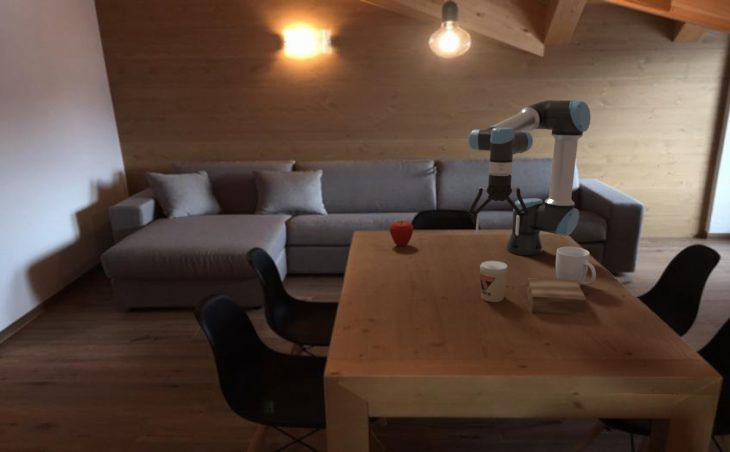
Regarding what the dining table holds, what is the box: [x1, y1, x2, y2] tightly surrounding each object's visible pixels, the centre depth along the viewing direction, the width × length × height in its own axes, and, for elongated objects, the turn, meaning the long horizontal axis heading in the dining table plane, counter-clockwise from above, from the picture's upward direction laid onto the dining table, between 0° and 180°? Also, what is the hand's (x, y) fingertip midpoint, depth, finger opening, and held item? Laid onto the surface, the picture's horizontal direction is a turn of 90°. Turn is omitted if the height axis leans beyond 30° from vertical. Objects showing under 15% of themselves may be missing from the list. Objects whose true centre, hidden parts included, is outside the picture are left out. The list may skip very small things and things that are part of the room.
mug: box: [555, 246, 597, 287], centre depth 180 cm, size 15×11×13 cm
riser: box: [526, 277, 587, 318], centre depth 166 cm, size 16×16×6 cm
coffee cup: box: [479, 260, 509, 303], centre depth 172 cm, size 9×9×12 cm
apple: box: [389, 220, 414, 247], centre depth 230 cm, size 11×11×12 cm
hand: (496, 233), depth 175 cm, fingers open, 13 cm apart
